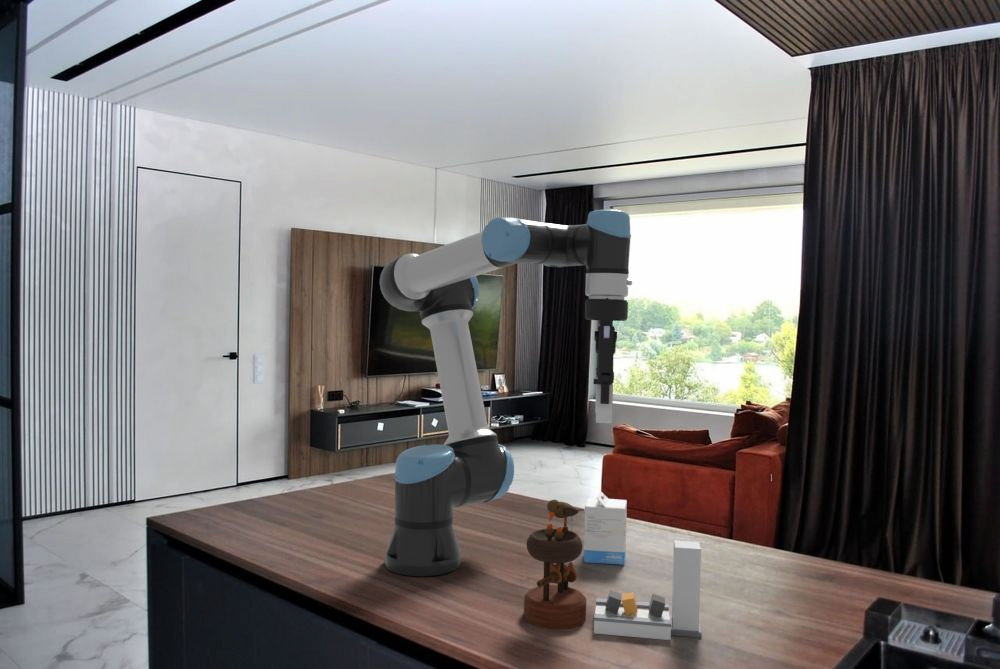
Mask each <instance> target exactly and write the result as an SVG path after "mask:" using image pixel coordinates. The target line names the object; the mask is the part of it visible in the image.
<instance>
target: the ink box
mask: <svg viewBox="0 0 1000 669" xmlns="http://www.w3.org/2000/svg"><path fill="white" fill-rule="evenodd" d="M627 502H628V501H627V499H617V498H616V499H615V498H608V496H606V495H605V494H604V493H603V492H602V491H601V490H599V492H598V494H597V497H596V498H595V497H588V499H587V501H586V503H585V505H584V534H583V535H584V541H583V542H584V543H583V545H584V546H583V548H584V549H583V561H584V563H588V564H589V563H590V564H591V563H592V564H608V565H609V564H610V565H623V566H624V565H625V563H626V562H625V561H626V556H627V521H628V520H627V519H628V518H627V511H628V510H627V508H628V507H627V504H628V503H627Z"/></svg>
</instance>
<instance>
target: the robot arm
mask: <svg viewBox="0 0 1000 669" xmlns="http://www.w3.org/2000/svg"><path fill="white" fill-rule="evenodd" d="M587 215H588V216H587V220H586V223H585V224H574V225H573V224H572V225H571V224H569V225H566V224H557V223H551V222H550V223H549V222H543V221H536V220H529V219H523V218H517V217H512V216H508V217H506V216H505V217H503V216H502V217H494V218H492V219H490V220H489V221H488V223H487V225H485V226H484V228H483V230H482V231H480V232H477V233H474V234H472V235H468V236H466V237H464V238H459V239H458V240H456V241H453V242H449V243H447V244H445V245H441V246H439V247H437V248H434V249H431V250H428V251H425V252H423V253H421V254H417V253H406V254H403V255H400V256H398V257H396V258H393V259H392V260H390V261H388V263H387V264H386V265H385V266H384V267H383V268H382V271H381V273H380V277H379V286H380V291H381V294H382V295H383V297H384V299H385V300H386V302H387V303H388V304H390V305H391V306H392V307H394V308H396V309H398V310H400V311H405V312H417V313H419V315H420V319H421V324H422V325H423V326H424V327H426V328H427V329H429V331H430V337H431V342H432V343H431V344H432V349H433V353H434V359H435V366H436V370H437V376H438V382H439V386H440V394H441V399H442V403H443V408H444V413H445V419H446V420H445V421H446V426H447V431H448V437H447V439H446V440H445V442H444V443H443V444H440V443H439V444H424V445H418V446H413V447H410V448H408V449H405V450H403V451H402V452H400V453H399V455H398V456H397V458H396V460H395V471H394V474H393V475H394V476H393V477H394V481H395V482H394V483H395V484H394V488H395V489H394V527H393V531H392V533H391V536H390V539H389V542H388V545H387V548H386V551H385V555H384V558H385V559H384V562H385V563H384V566H385V567H386V569H388V570H389V571H390V572H393V573H395V574H399V575H403V576H411V577H431V576H432V577H433V576H439V575H445V574H448V573H452V572H453V571H455V570H457V569H459V568H460V566H461V562H462V561H461V559H462V558H461V555H462V554H461V550H460V547H459V544H458V540H457V537H456V533H455V530H454V527H453V525H454V524H453V515H454V514H453V511H454V510H453V509H455V508H460V507H464V506H465V507H466V506H470V505H476V504H481V503H490V502H491V501H494V500H497V499H500V498H502V497H503V496H505V495H506V494H507V492H508V491H509V490H510V486H511V485H512V484H513V482H514V478H515V477H514V476H515V463H514V458H513V456H512V453H511V452H510V451H509V450H508V448H507V447H505V446H504V445H503V444H499V440H498V436H497V433H496V432H494V431H493V430H491V429H490V428H489V426H488V421H487V420H488V419H487V416H486V415H487V414H486V410H485V404H484V400H483V394H482V389H481V384H480V378H479V374H478V367H477V363H476V358H475V353H474V347H473V343H472V338H471V331H470V327H469V322H470V320H471V319H472V318H473V315H474V309H475V308H476V306H477V304H478V302H479V299H478V297H480V285H479V281H478V278H477V277H478V276H480V275H483V274H486V273H490V272H493V271H495V270H496V271H497V270H500V269H503V268H507V267H510V266H513V265H516V264H521V263H522V264H536V265H543V266H545V267H552V268H564V267H576V266H577V267H578V266H579V267H580V266H585V268H586V271H585V272H586V273H585V296H587V297H588V298H587V299H586V300H585V301H584V302H585V304H584V305H585V306H584V308H585V309H584V318H585V319H586V320H587V321H588V320H589V321H599V324H598V325H597V330H594V341H595V353H596V354H597V357H596V358H597V362H596V364H597V365H596V369H595V371H596V374H595V375H596V378H593V385H595V405H594V406H595V407H594V408H595V410H594V412H595V424H612V423H613V406H614V404H613V402H614V401H613V399H614V384H613V383H614V380H615V371H614V354H616V349H617V348H616V347H617V345H616V344H617V341H618V331H617V330H616V327H615V325H614V322H625V321H627V320H628V315H629V313H628V312H629V302H628V300H626V299H625V298H627V297H628V296H629V287H628V286H632V285H633V281H632V279H629V277H630V276H629V273H630V271H629V270H630V269H629V264H630V263H629V262H630V248H631V238H632V234H631V217H630V215H629V213H628V212H626V211H624V210H619V209H595V210H593V211H589V213H588V214H587ZM613 321H614V322H613Z"/></svg>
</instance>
